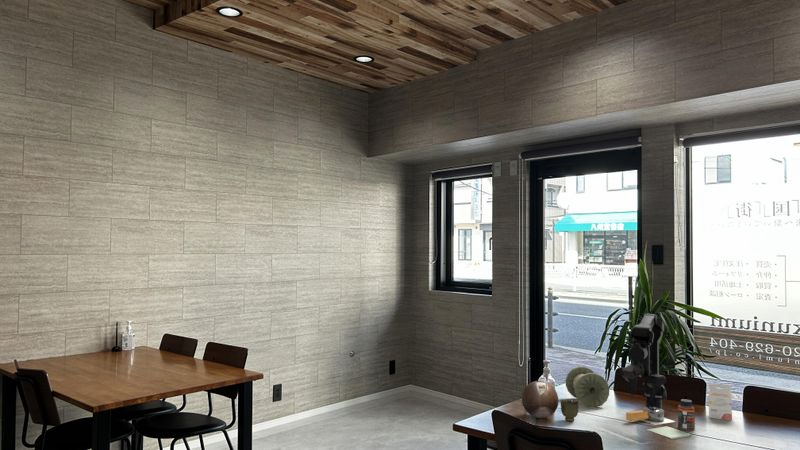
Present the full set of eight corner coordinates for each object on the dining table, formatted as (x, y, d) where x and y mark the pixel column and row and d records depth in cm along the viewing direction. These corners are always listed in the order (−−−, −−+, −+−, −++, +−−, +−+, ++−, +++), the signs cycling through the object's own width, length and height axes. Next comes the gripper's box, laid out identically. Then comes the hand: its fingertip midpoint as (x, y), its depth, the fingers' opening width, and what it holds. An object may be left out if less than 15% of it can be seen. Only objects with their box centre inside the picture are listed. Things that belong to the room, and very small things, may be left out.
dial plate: (651, 415, 247) (651, 414, 247) (676, 422, 236) (675, 421, 236) (631, 418, 242) (631, 417, 242) (655, 426, 231) (655, 424, 231)
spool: (609, 407, 258) (609, 374, 259) (575, 407, 258) (575, 373, 259) (597, 398, 275) (597, 366, 275) (565, 398, 275) (565, 366, 276)
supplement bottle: (688, 432, 223) (687, 402, 224) (674, 428, 228) (674, 399, 229) (698, 430, 226) (697, 401, 226) (684, 426, 231) (684, 397, 232)
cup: (580, 424, 232) (580, 404, 232) (561, 423, 234) (561, 403, 234) (578, 419, 239) (578, 399, 240) (559, 417, 241) (559, 398, 241)
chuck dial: (652, 415, 244) (652, 404, 244) (668, 420, 237) (668, 408, 237) (620, 420, 236) (620, 408, 237) (636, 425, 229) (636, 413, 229)
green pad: (666, 427, 229) (666, 426, 229) (691, 435, 219) (691, 434, 219) (646, 431, 224) (646, 429, 224) (670, 439, 214) (670, 437, 214)
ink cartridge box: (731, 418, 243) (731, 383, 244) (732, 421, 239) (731, 385, 240) (708, 415, 247) (708, 381, 248) (708, 418, 243) (708, 383, 244)
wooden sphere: (530, 423, 232) (530, 385, 233) (515, 413, 247) (516, 378, 248) (565, 421, 235) (565, 384, 236) (548, 411, 250) (548, 376, 251)
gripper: (609, 355, 237) (609, 393, 236) (645, 363, 220) (646, 405, 219) (629, 353, 241) (630, 391, 240) (666, 361, 224) (667, 402, 223)
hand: (642, 397), depth 230 cm, fingers open, 9 cm apart
